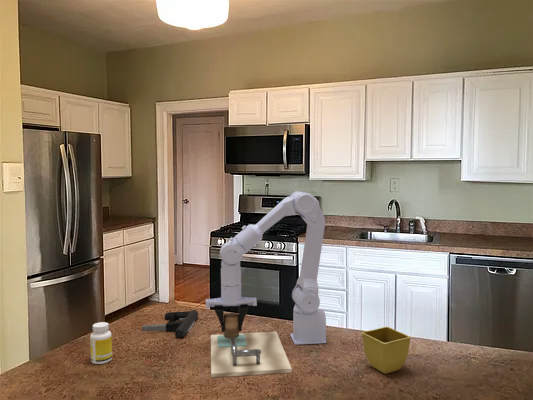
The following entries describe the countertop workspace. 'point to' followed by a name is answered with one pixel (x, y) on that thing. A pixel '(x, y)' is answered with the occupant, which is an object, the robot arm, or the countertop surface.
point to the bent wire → (243, 352)
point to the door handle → (175, 323)
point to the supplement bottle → (101, 343)
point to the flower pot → (386, 348)
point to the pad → (226, 341)
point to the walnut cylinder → (231, 325)
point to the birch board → (270, 356)
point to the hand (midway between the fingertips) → (231, 330)
